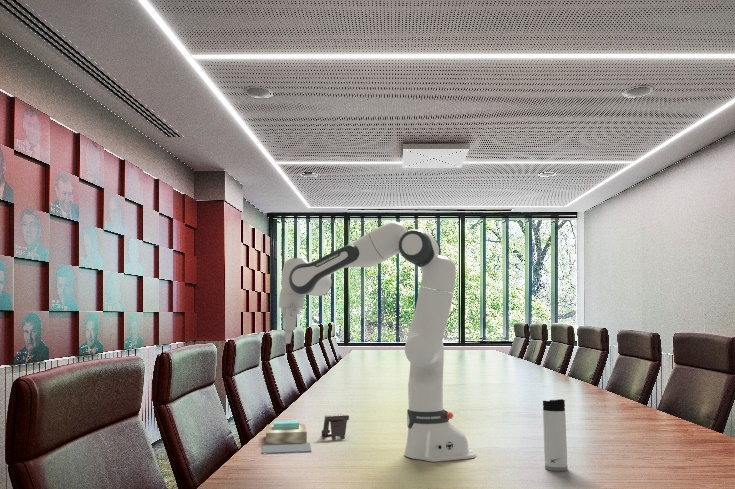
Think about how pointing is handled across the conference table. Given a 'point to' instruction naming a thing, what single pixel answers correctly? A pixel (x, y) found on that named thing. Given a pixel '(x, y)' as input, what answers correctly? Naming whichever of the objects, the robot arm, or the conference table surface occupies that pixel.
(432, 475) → the conference table surface
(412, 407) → the robot arm
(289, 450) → the mat
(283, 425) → the turquoise rectangular block
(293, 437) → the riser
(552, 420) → the travel mug
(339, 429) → the portable electronic device stand
